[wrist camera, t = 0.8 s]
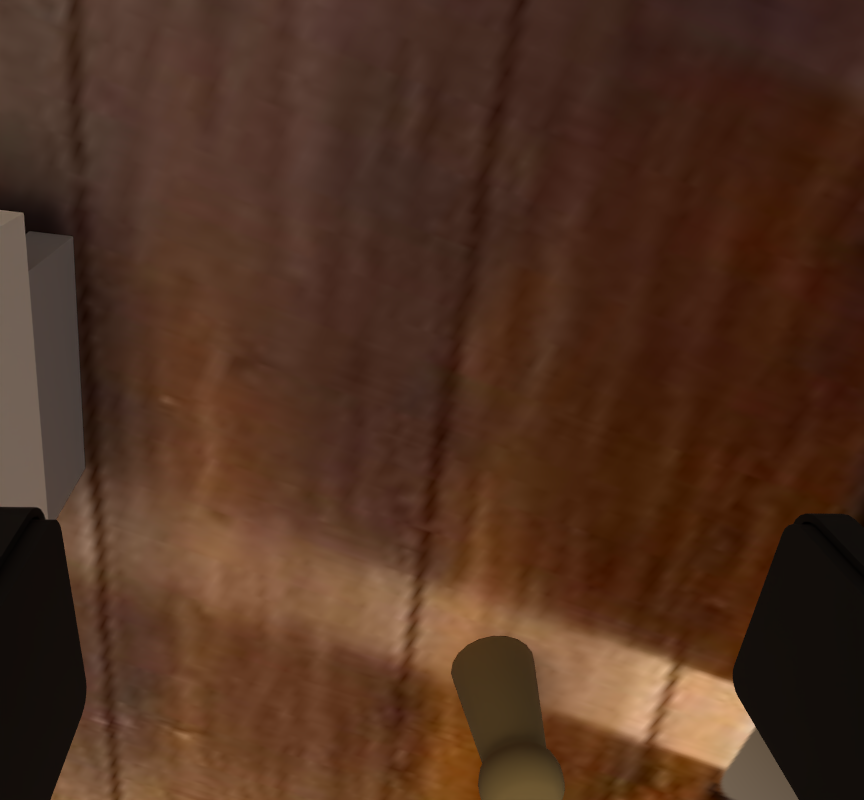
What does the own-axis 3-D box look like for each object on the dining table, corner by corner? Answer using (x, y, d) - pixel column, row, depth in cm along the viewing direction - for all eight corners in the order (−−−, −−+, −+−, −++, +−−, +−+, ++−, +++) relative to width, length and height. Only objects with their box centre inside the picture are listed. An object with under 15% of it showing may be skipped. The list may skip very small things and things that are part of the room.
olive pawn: (502, 707, 55) (537, 853, 46) (434, 681, 53) (457, 828, 44) (550, 653, 53) (598, 793, 44) (482, 624, 51) (516, 764, 42)
